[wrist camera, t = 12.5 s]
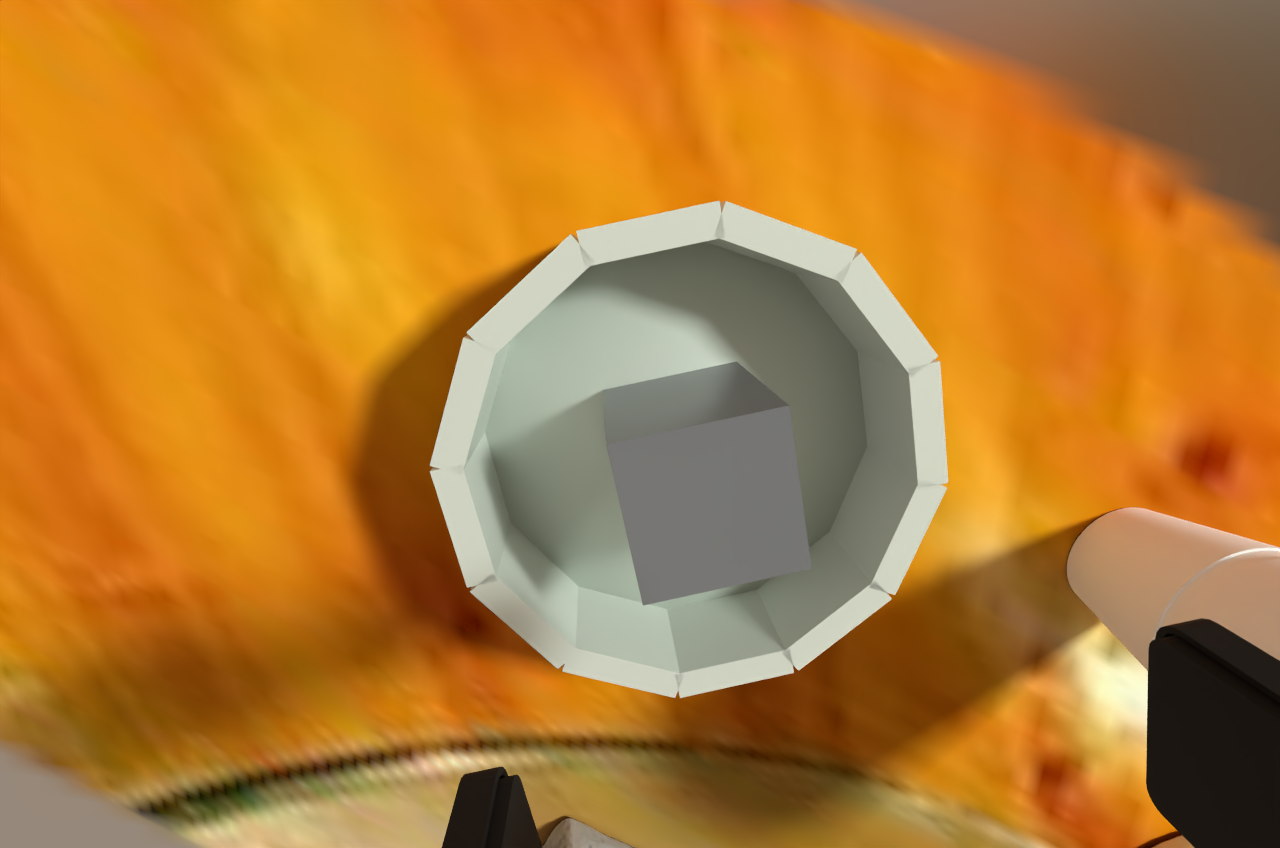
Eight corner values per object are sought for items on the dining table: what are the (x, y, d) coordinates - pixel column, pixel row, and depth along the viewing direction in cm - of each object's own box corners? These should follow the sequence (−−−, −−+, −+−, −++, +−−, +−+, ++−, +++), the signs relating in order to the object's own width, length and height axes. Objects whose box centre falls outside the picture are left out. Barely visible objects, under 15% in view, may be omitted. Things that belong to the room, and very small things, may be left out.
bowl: (856, 174, 23) (926, 156, 18) (894, 567, 27) (958, 636, 22) (415, 267, 22) (366, 275, 18) (528, 647, 27) (513, 734, 22)
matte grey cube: (736, 361, 23) (789, 405, 17) (756, 486, 25) (811, 568, 18) (602, 389, 23) (606, 444, 17) (630, 513, 25) (642, 605, 18)
